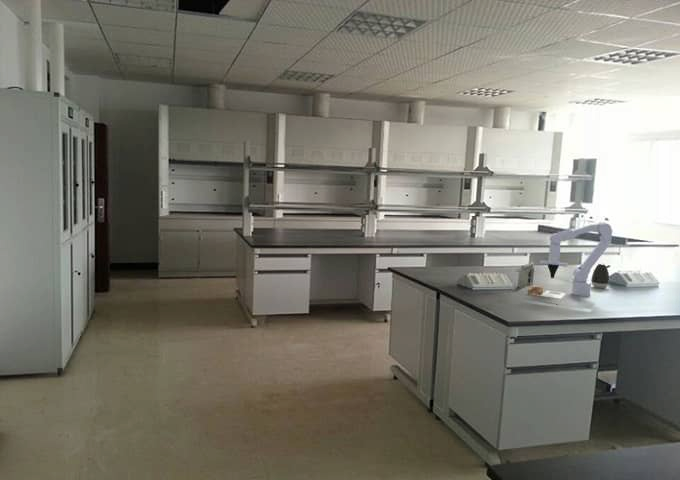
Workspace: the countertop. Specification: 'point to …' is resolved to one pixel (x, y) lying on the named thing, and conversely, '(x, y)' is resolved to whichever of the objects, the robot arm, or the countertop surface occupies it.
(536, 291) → the block
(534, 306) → the countertop surface
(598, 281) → the potted cactus
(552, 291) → the trap board
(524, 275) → the geiger counter
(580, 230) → the robot arm
